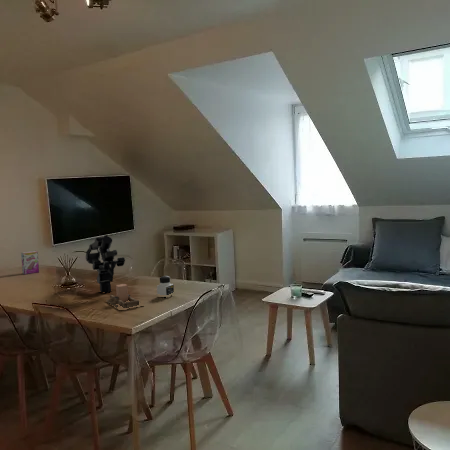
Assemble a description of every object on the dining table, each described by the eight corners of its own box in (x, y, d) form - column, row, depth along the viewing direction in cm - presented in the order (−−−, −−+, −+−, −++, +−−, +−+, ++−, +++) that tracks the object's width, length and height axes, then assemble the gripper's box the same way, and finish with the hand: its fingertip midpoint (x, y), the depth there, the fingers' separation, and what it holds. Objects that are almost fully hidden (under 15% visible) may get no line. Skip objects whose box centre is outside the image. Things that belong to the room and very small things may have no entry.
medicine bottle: (166, 298, 264) (165, 278, 262) (157, 297, 267) (156, 277, 266) (174, 295, 270) (173, 275, 268) (164, 294, 274) (163, 274, 272)
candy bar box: (24, 274, 345) (22, 253, 343) (22, 273, 349) (20, 252, 347) (39, 272, 352) (37, 251, 350) (37, 271, 356) (35, 250, 354)
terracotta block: (116, 300, 259) (115, 285, 258) (125, 299, 262) (124, 283, 261) (119, 302, 255) (118, 286, 254) (128, 301, 258) (127, 285, 257)
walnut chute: (105, 301, 262) (105, 294, 262) (128, 297, 270) (128, 290, 269) (119, 311, 242) (119, 304, 242) (144, 306, 250) (144, 299, 249)
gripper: (92, 247, 267) (99, 269, 259) (123, 244, 277) (130, 264, 269) (89, 259, 275) (96, 280, 266) (119, 255, 284) (126, 275, 276)
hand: (112, 274), depth 269 cm, fingers closed
